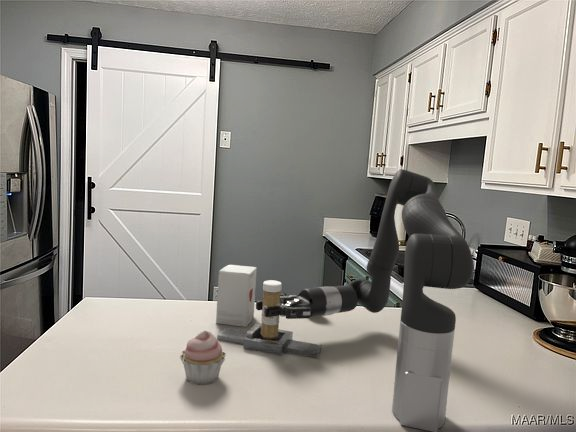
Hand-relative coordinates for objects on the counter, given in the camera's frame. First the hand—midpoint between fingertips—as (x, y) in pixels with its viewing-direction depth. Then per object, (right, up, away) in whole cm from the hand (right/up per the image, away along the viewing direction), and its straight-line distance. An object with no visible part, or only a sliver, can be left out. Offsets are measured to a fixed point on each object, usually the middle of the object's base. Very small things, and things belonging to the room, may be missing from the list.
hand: (261, 309), depth 100 cm
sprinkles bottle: (+2, -7, +2) cm, 8 cm away
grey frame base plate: (+2, -9, +2) cm, 10 cm away
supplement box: (-8, -7, +17) cm, 21 cm away
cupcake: (-11, -11, -16) cm, 22 cm away
